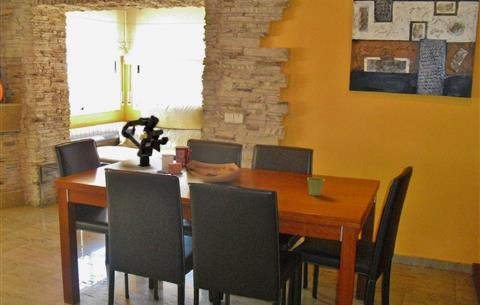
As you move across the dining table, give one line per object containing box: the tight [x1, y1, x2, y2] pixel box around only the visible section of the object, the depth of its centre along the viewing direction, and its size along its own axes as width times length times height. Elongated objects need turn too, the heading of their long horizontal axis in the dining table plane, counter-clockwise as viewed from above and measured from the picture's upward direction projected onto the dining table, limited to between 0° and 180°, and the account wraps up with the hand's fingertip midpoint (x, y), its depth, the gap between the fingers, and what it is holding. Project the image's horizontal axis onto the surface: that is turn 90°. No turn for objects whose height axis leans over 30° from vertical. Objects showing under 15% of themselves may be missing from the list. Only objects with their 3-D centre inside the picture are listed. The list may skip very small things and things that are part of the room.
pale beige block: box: [161, 153, 175, 168], centre depth 308 cm, size 4×6×10 cm
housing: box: [156, 162, 184, 176], centre depth 307 cm, size 14×10×7 cm
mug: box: [174, 145, 194, 168], centre depth 330 cm, size 13×9×14 cm
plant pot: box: [306, 176, 326, 197], centre depth 263 cm, size 9×9×9 cm
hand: (159, 151), depth 314 cm, fingers closed
